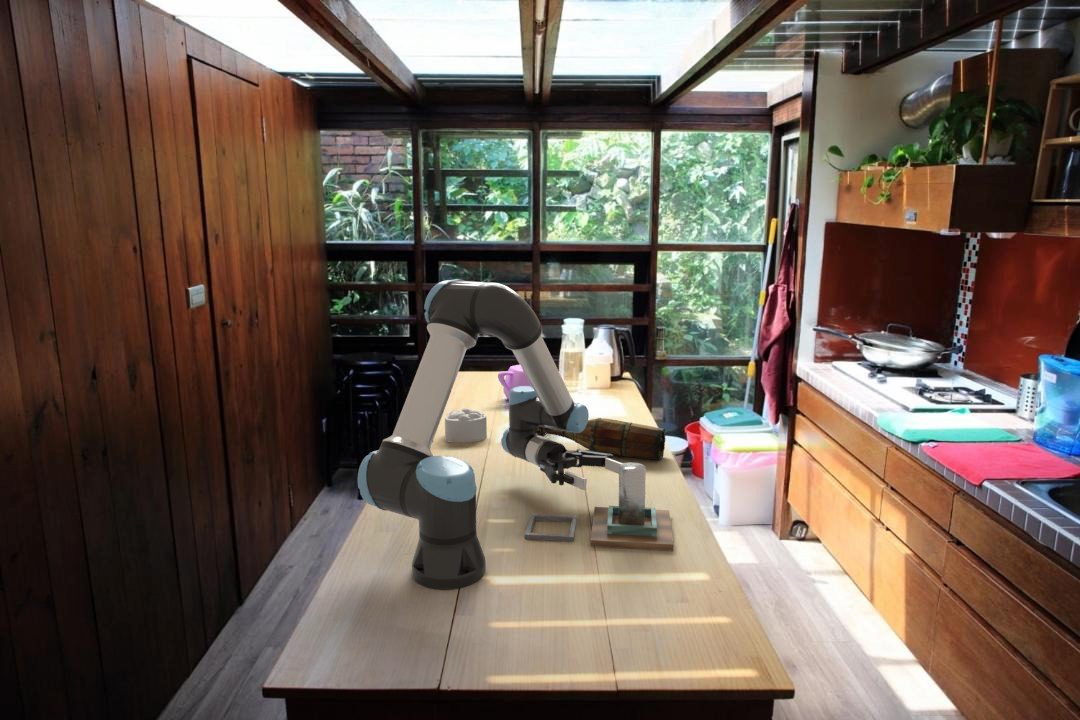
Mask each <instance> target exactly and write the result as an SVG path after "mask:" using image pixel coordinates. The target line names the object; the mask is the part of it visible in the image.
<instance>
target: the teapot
mask: <svg viewBox="0 0 1080 720" xmlns="http://www.w3.org/2000/svg"><path fill="white" fill-rule="evenodd" d="M497 378H498V381H499V383H500V384H501V385H502V387H503V393H504V396H505V397H506V398H507V400H509V393H510V390H511V389H513V388H515V387H519V386H530V387H532V386H531V384H530V382H529V380H528V378H527V377H526V375H525V373H524V371H523V369H522V367H521V366H520V364H516V365H512V366H511V365H510V367H509V368H508V370H507V371H500V372H498V374H497Z"/></svg>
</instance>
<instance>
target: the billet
mask: <svg viewBox="0 0 1080 720" xmlns="http://www.w3.org/2000/svg"><path fill="white" fill-rule="evenodd" d="M646 469H647V468H646V465H644V464H642V463H639V462H624V463H623V464H621V465H620V466H619V474H618V506H619V518H618V524H624V525H643V526H644V525H645V507H646Z"/></svg>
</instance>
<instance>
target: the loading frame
mask: <svg viewBox="0 0 1080 720" xmlns="http://www.w3.org/2000/svg"><path fill="white" fill-rule="evenodd" d="M535 521H546V522H547V521H548V522H549V521H550V522H568V523H569V522H570V523H571V524H570V529H569V534H562V533H561V534H560V533H540V532H533V527H534V524H535ZM577 523H578V515H577V516H574V515H558V514H557V515H555V514H535V513H531V514H530V517H529V520H528V523H527V527H526V531H525V533H524V539H526V540H527V539H528V540H546V541H560V542H561V541H563V542H565V541H566V542H574V541H575V540H574V539H575V534H576V528H577Z"/></svg>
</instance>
